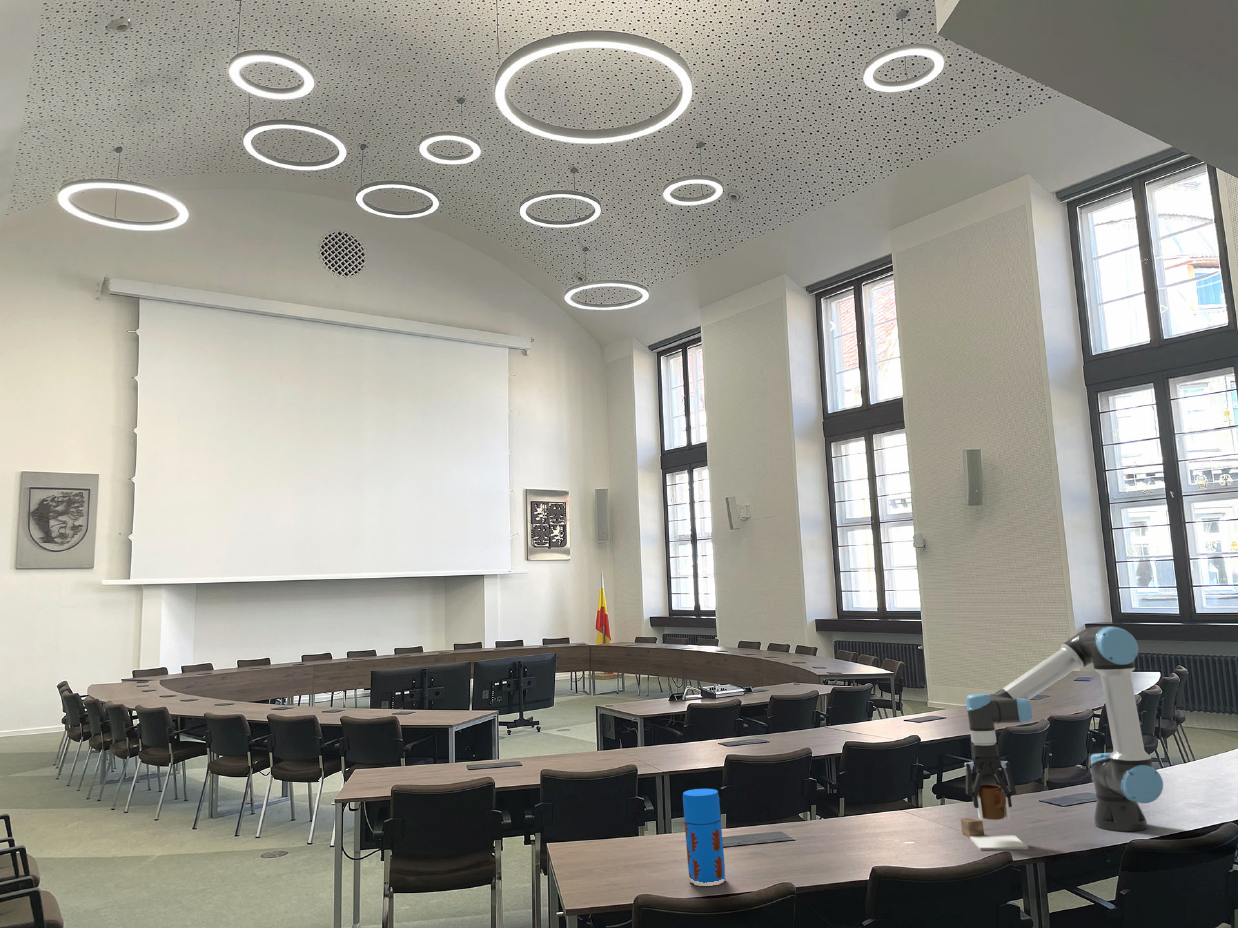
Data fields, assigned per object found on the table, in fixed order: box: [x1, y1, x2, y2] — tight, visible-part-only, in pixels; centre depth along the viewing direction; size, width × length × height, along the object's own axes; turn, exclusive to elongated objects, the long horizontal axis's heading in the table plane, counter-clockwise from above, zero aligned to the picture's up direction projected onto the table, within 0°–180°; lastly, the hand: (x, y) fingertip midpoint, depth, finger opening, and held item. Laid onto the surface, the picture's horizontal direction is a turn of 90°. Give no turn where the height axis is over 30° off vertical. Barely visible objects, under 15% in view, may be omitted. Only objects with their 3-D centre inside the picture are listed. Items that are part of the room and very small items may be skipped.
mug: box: [978, 783, 1006, 821], centre depth 268 cm, size 12×8×9 cm, turn 8°
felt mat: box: [969, 834, 1029, 851], centre depth 266 cm, size 14×14×1 cm
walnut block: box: [960, 817, 985, 839], centre depth 277 cm, size 5×5×5 cm
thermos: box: [682, 788, 726, 883], centre depth 250 cm, size 11×11×25 cm
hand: (994, 817), depth 267 cm, fingers closed on mug, 7 cm apart
